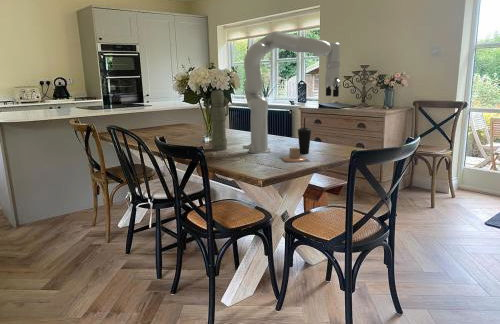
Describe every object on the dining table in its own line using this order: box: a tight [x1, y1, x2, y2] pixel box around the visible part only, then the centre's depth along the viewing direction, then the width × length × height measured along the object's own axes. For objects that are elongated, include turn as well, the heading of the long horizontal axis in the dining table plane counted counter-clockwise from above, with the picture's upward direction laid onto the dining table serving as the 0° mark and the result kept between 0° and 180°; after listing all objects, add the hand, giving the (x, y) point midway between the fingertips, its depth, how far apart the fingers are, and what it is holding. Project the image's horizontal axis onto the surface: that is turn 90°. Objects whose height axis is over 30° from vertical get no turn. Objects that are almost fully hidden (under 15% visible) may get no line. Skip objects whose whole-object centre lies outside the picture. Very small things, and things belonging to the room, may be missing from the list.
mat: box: [279, 156, 312, 164], centre depth 194 cm, size 13×13×1 cm
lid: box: [283, 147, 307, 163], centre depth 193 cm, size 12×12×6 cm
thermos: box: [207, 89, 229, 152], centre depth 223 cm, size 9×12×35 cm
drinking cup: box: [296, 117, 312, 155], centre depth 206 cm, size 8×8×20 cm
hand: (332, 96), depth 217 cm, fingers open, 9 cm apart
